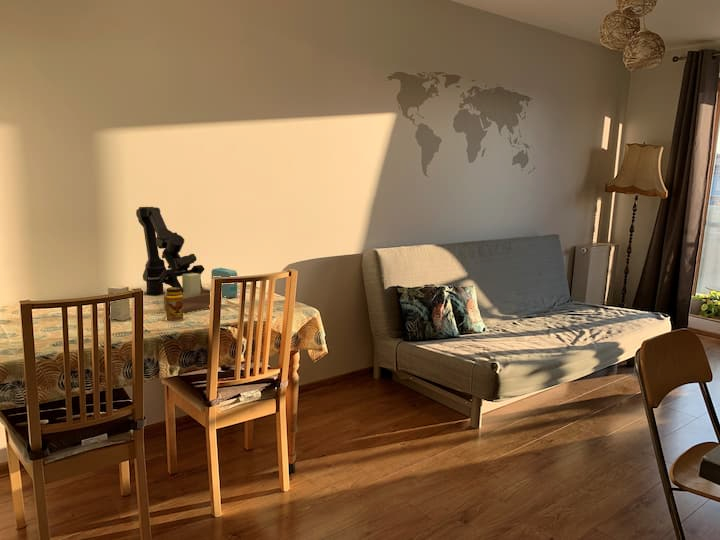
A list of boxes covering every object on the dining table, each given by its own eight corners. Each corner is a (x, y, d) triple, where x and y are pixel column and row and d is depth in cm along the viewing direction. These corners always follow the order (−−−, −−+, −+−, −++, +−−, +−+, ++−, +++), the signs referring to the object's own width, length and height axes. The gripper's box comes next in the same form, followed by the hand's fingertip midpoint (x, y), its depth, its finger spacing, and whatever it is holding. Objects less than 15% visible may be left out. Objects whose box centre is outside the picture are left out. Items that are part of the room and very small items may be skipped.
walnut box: (164, 310, 234) (163, 295, 233) (202, 302, 249) (202, 288, 248) (180, 314, 228) (180, 299, 227) (218, 306, 243) (218, 291, 242)
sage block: (182, 308, 238) (182, 274, 235) (192, 306, 242) (192, 272, 239) (190, 310, 235) (190, 275, 233) (200, 308, 239) (200, 274, 237)
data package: (237, 297, 260) (237, 270, 258) (229, 298, 257) (229, 272, 255) (219, 293, 267) (219, 267, 265) (211, 294, 263) (211, 268, 261)
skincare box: (130, 318, 220) (129, 286, 218) (122, 321, 216) (121, 288, 214) (116, 316, 222) (115, 284, 220) (108, 319, 218) (107, 286, 216)
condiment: (176, 322, 217) (176, 290, 215) (157, 320, 219) (156, 288, 217) (188, 317, 224) (187, 287, 221) (169, 315, 226) (168, 285, 224)
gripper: (163, 249, 229) (181, 281, 225) (201, 245, 245) (219, 275, 240) (151, 267, 235) (169, 298, 231) (189, 262, 250) (206, 291, 246)
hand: (192, 290), depth 237 cm, fingers open, 9 cm apart
